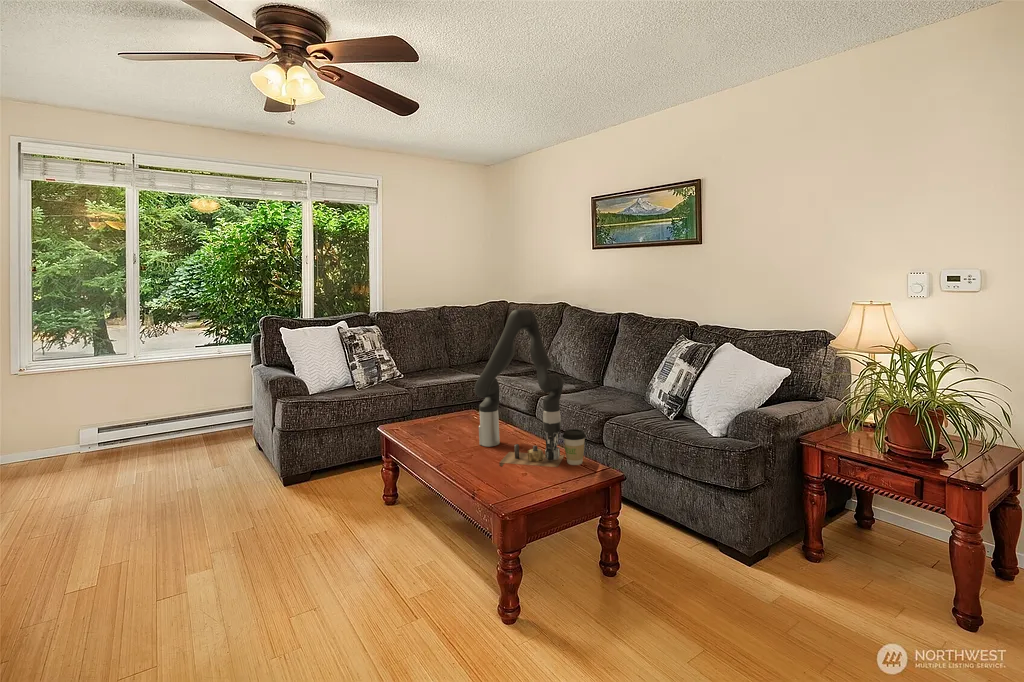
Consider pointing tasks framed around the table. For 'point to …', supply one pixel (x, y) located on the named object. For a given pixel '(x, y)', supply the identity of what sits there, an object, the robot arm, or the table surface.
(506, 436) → the table surface
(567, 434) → the coffee cup
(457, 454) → the table surface
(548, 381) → the robot arm
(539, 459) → the gear board
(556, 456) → the steel gear
